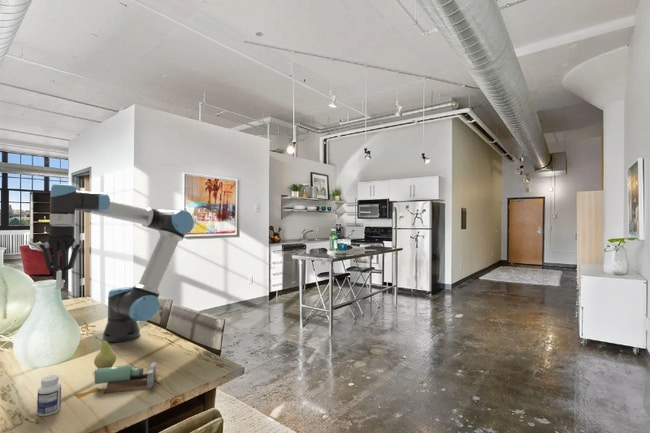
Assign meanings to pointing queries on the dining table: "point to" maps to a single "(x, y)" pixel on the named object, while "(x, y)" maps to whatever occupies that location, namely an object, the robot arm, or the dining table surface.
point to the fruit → (105, 356)
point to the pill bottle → (49, 396)
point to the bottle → (116, 374)
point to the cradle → (134, 382)
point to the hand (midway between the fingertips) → (59, 288)
